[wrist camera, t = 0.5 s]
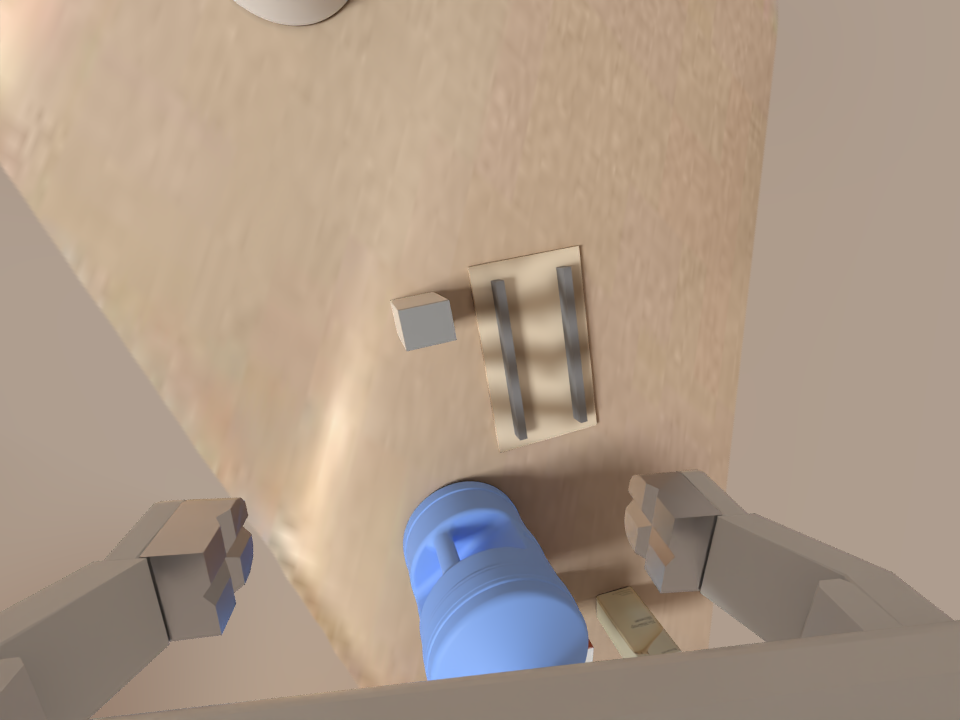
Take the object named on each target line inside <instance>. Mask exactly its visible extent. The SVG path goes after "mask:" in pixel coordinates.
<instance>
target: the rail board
mask: <svg viewBox="0 0 960 720" xmlns="http://www.w3.org/2000/svg"><path fill="white" fill-rule="evenodd" d="M468 272H469V278H470V284H471V290H472V296H473V302H474V307H475V313H476V319H477V325H478V331H479V337H480V343H481V348H482V354H483V360H484V366H485V372H486V378H487V383H488V389H489V395H490V401H491V407H492V413H493V419H494V424H495V430H496V436H497V442H498V448H499V452H500V453H502V452H506V451H509V450H513V449H516V448H519V447H523V446H526V445H530V444H533V443H536V442H540V441H543V440H547V439H550V438H554V437H557V436H560V435H564V434H567V433H571V432H574V431H578V430H581V429H584V428H588V427H591V426H595V425H597V421H596V411H595V401H594V391H593V381H592V371H591V361H590V351H589V341H588V331H587V321H586V311H585V301H584V291H583V282H582V272H581V262H580V252H579V246H574V247H568V248H563V249H558V250H553V251H548V252H543V253H537V254H532V255H527V256H522V257H517V258H512V259H506V260H501V261H496V262H491V263H486V264H481V265H475V266H470V267H468Z"/></svg>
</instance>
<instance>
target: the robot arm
mask: <svg viewBox="0 0 960 720" xmlns="http://www.w3.org/2000/svg"><path fill="white" fill-rule="evenodd" d="M234 1H235V2H236V3H238V4H239V5H240V6H242V7H243V8H245V9H246V10H248V11H249V12H251V13H253V14H255V15H257V16H259V17H261V18H263V19H266V20H268V21H271V22H275V23H279V24H284V25H294V26H298V25H308V24H313V23H317V22H320V21H322V20H324V19H326V18H328V17H330V16H332V15H333V14H334V13H336V12H337V11H338V10H339V9H340V8H342V6H343V5H344V4H345V3H346V2H347V1H348V0H234ZM628 492H629V493H630V495H631V496H632V498H633V500H632V501H631V503H630V504H629V505H628V506H627V507H626V509H625V518H624V524H625V531H626V536H627V538H628V541H629V544H630V545H631V547H632V549H633V550H634V552H635V553H637V554H638V555H640V556H641V557H643V558H645V559H646V562H645V570H646V571H647V573H648V575H649V576H650V578H651V579H652V581H653V582H654V584H655V586H656V587H657V589H658V590H659V592H660V593H673V592H689V591H700V593H701V594H702V595H704V596H705V597H706V598H708V599H709V600H710V601H712V602H713V603H715V604H716V605H717V606H719V607H720V608H721V609H723V610H724V611H725V612H727V613H728V614H729V615H731V616H732V617H733V618H735V619H736V620H738V621H739V622H740V623H742V624H743V625H744V626H746V627H747V628H748V629H750V630H751V631H752V632H754V633H755V634H756V635H758V636H759V637H760V638H762V639H763V640H764V641H766V642H762V643H754V644H745V645H737V646H728V647H720V648H713V649H703V650H694V651H685V652H676V653H667V654H658V655H649V656H640V657H631V658H622V659H613V660H604V661H595V662H586V663H577V664H568V665H559V666H550V667H542V668H533V669H524V670H516V671H507V672H498V673H489V674H481V675H472V676H463V677H455V678H446V679H437V680H428V681H420V682H411V683H402V684H394V685H385V686H376V687H368V688H359V689H351V690H342V691H333V692H324V693H315V694H306V695H298V696H289V697H280V698H271V699H262V700H254V701H246V702H236V703H228V704H218V705H210V706H202V707H192V708H183V709H175V710H166V711H157V712H148V713H140V714H131V715H122V716H114V717H105V718H96V719H89V718H90V717H91V716H92V715H94V714H95V713H96V712H97V711H98V710H99V709H100V708H101V707H102V706H103V705H104V704H105V703H107V702H108V701H109V700H110V699H111V698H112V697H113V696H114V695H115V694H116V693H117V692H118V691H120V690H121V688H123V687H124V686H125V685H126V684H127V683H128V682H129V681H130V680H131V679H132V678H134V677H135V676H136V675H137V674H138V673H139V672H140V671H141V670H142V669H143V668H144V667H146V666H147V665H148V664H149V663H150V662H151V661H152V660H153V659H154V658H155V657H156V656H157V655H159V654H160V653H161V652H162V651H163V650H164V649H165V648H166V647H167V646H168V645H169V642H170V641H178V640H186V639H194V638H202V637H209V636H218V635H222V633H223V631H224V629H225V627H226V625H227V622H228V620H229V618H230V616H231V614H232V611H233V609H234V607H235V605H236V602H235V596H234V593H235V592H236V591H237V590H238V589H240V588H241V587H242V586H243V585H245V583H246V580H247V578H248V576H249V573H250V570H251V565H252V560H253V541H252V535H251V533H250V532H249V531H247V530H246V529H245V528H244V527H243V524H244V522H245V521H246V519H247V517H248V512H247V508H246V503H245V501H244V500H243V499H242V498H217V499H193V500H172V501H160V502H158V503H155V504H153V505H152V506H151V507H150V508H149V510H148V511H147V512H146V513H145V514H144V515H143V517H141V519H140V520H139V521H138V522H137V523H136V524H135V526H134V527H133V528H132V529H131V530H130V531H129V532H128V533H127V534H126V536H125V537H124V538H123V539H122V540H121V541H120V542H119V544H118V545H117V546H116V547H115V548H114V549H113V551H111V553H110V554H109V555H108V556H107V557H106V558H105V559H104V561H97V562H92V563H90V564H88V565H87V566H85V567H83V568H81V569H79V570H77V571H75V572H74V573H72V574H70V575H68V576H66V577H64V578H62V579H61V580H59V581H57V582H55V583H53V584H51V585H50V586H48V587H46V588H44V589H42V590H40V591H38V592H37V593H35V594H33V595H31V596H30V597H28V598H26V599H24V600H22V601H20V602H18V603H16V604H14V605H13V606H11V607H9V608H7V609H5V610H4V611H2V612H0V720H960V620H956V621H954V620H953V619H951V618H950V617H949V616H948V615H946V614H945V613H944V612H943V611H941V610H940V609H939V608H937V607H936V606H935V605H934V604H932V603H931V602H930V601H929V600H927V599H926V598H925V597H923V596H922V595H921V594H920V593H918V592H917V591H916V590H914V589H913V588H912V587H911V586H909V585H908V584H907V583H905V582H904V581H903V580H902V579H900V578H899V577H898V576H896V575H895V574H894V573H893V572H891V571H888V570H886V569H884V568H881V567H879V566H876V565H874V564H872V563H870V562H867V561H865V560H863V559H860V558H858V557H856V556H853V555H851V554H849V553H846V552H844V551H842V550H839V549H837V548H835V547H832V546H830V545H828V544H825V543H823V542H821V541H818V540H816V539H814V538H811V537H809V536H807V535H804V534H802V533H800V532H797V531H795V530H792V529H790V528H787V527H786V526H783V525H781V524H779V523H776V522H774V521H772V520H769V519H767V518H764V517H762V516H760V515H758V514H755V513H753V514H748V513H747V512H746V511H745V510H744V509H743V508H742V507H740V506H739V505H738V504H737V503H736V502H735V501H734V500H733V499H732V498H731V497H730V496H728V494H727V493H725V492H724V491H723V490H722V489H721V488H720V487H719V486H718V485H717V484H716V483H715V482H714V481H713V480H712V479H710V478H709V477H708V476H707V475H706V474H705V473H704V472H702V471H700V470H697V469H696V470H685V471H676V472H668V473H654V474H641V475H633V476H632V478H631V480H630V483H629V489H628Z"/></svg>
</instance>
